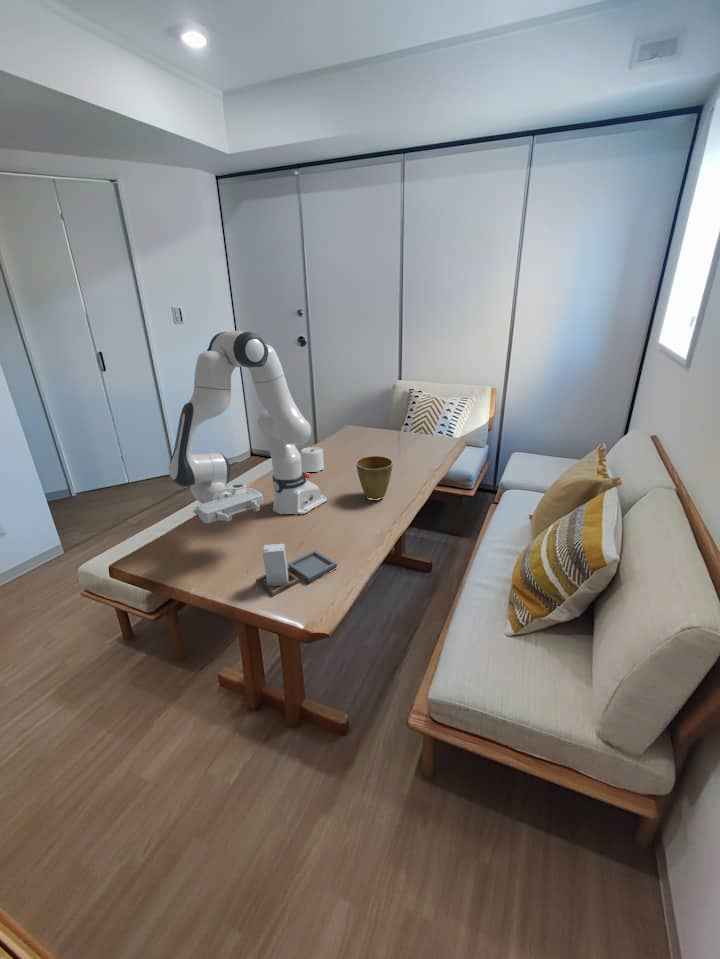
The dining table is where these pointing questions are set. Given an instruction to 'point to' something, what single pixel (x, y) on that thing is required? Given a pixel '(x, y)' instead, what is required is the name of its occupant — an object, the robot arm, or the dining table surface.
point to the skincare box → (275, 564)
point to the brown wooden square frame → (280, 589)
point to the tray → (311, 566)
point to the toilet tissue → (312, 459)
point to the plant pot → (374, 475)
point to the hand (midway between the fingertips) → (244, 513)
